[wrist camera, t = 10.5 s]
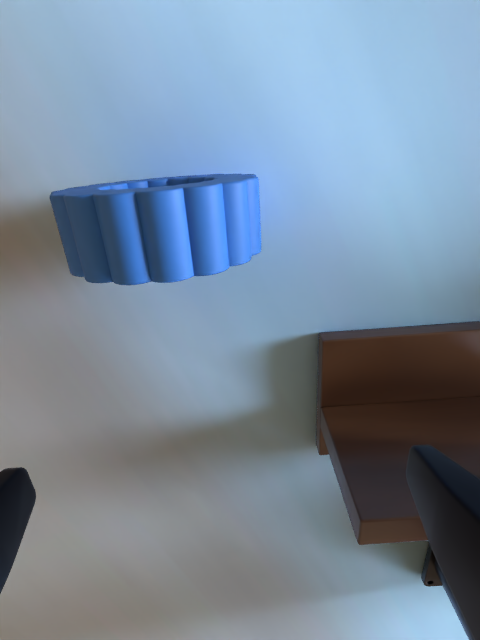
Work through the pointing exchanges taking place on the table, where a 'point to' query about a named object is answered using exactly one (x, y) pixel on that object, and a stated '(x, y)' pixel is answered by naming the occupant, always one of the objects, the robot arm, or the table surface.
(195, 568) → the table surface
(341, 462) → the hook
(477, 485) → the robot arm
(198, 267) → the tape roll
